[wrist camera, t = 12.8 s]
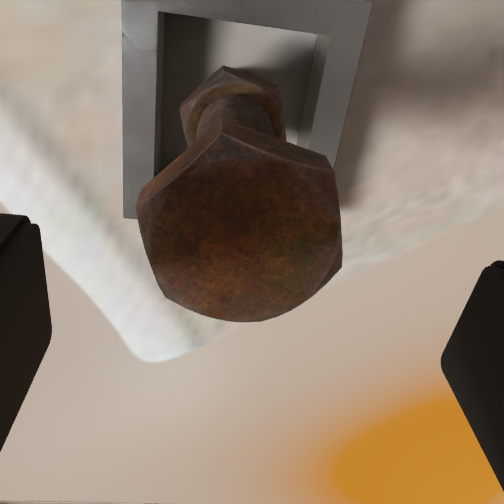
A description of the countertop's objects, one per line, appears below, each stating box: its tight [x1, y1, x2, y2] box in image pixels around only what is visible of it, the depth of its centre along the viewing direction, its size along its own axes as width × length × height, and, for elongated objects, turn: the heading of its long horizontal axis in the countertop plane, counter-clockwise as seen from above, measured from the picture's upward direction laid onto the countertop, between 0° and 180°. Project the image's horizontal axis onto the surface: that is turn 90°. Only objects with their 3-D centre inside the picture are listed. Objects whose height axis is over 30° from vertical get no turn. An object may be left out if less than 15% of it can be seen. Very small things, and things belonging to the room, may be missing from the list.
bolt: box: [135, 66, 343, 322], centre depth 18 cm, size 6×5×15 cm
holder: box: [122, 0, 372, 219], centre depth 24 cm, size 10×12×3 cm
